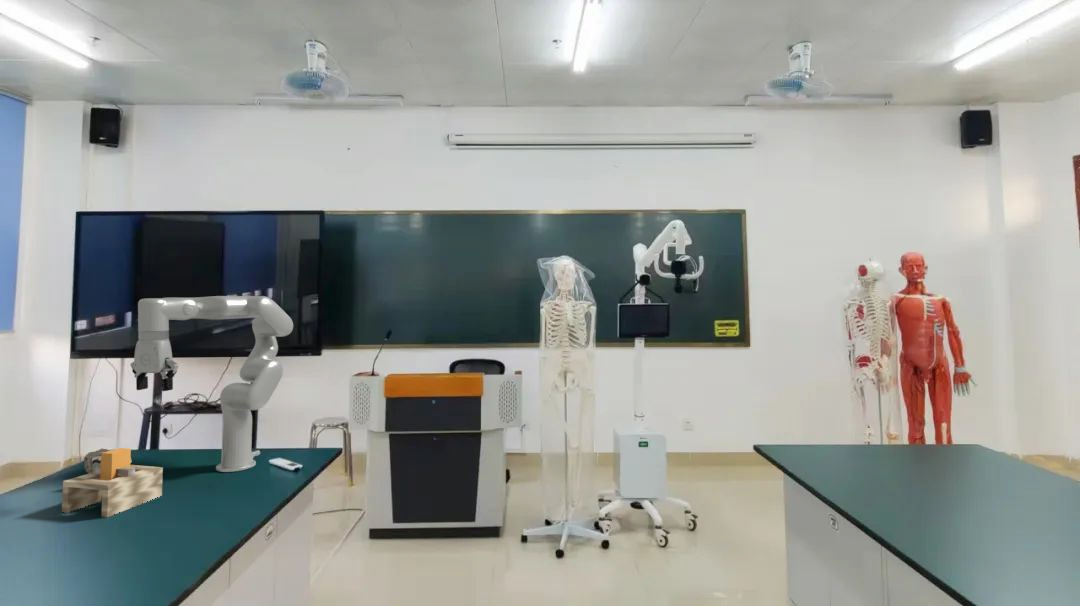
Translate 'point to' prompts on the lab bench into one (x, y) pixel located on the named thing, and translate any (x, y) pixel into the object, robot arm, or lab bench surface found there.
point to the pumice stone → (89, 457)
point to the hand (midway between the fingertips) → (154, 389)
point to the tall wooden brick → (114, 462)
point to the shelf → (113, 489)
